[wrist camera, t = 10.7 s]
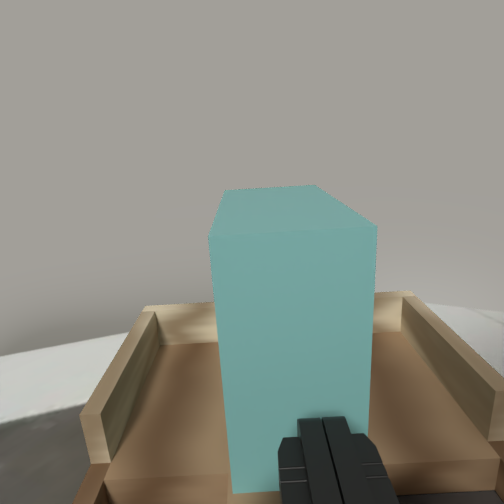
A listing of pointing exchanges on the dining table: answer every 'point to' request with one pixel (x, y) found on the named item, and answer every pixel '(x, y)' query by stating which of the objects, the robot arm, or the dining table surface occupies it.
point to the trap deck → (214, 422)
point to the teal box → (290, 319)
